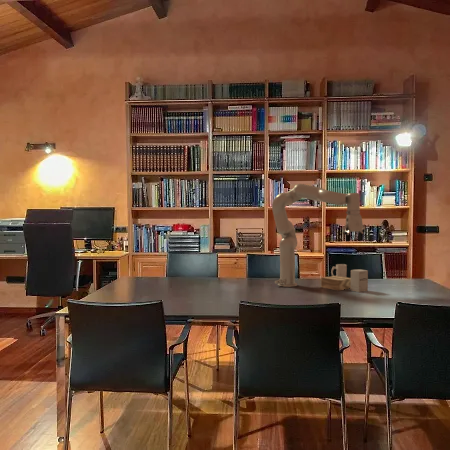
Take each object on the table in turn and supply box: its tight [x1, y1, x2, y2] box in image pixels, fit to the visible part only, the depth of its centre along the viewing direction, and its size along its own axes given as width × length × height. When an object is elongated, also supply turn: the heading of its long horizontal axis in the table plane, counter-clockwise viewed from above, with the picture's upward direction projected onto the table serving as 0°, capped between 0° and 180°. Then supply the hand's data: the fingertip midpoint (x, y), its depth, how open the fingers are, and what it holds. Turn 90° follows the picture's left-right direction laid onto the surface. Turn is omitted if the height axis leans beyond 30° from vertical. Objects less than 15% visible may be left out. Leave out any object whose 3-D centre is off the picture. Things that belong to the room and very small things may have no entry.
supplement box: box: [350, 268, 369, 293], centre depth 277 cm, size 7×7×13 cm
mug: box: [330, 263, 348, 277], centre depth 306 cm, size 10×7×12 cm, turn 84°
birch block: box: [320, 275, 351, 291], centre depth 288 cm, size 14×14×6 cm
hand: (354, 240), depth 282 cm, fingers open, 9 cm apart
